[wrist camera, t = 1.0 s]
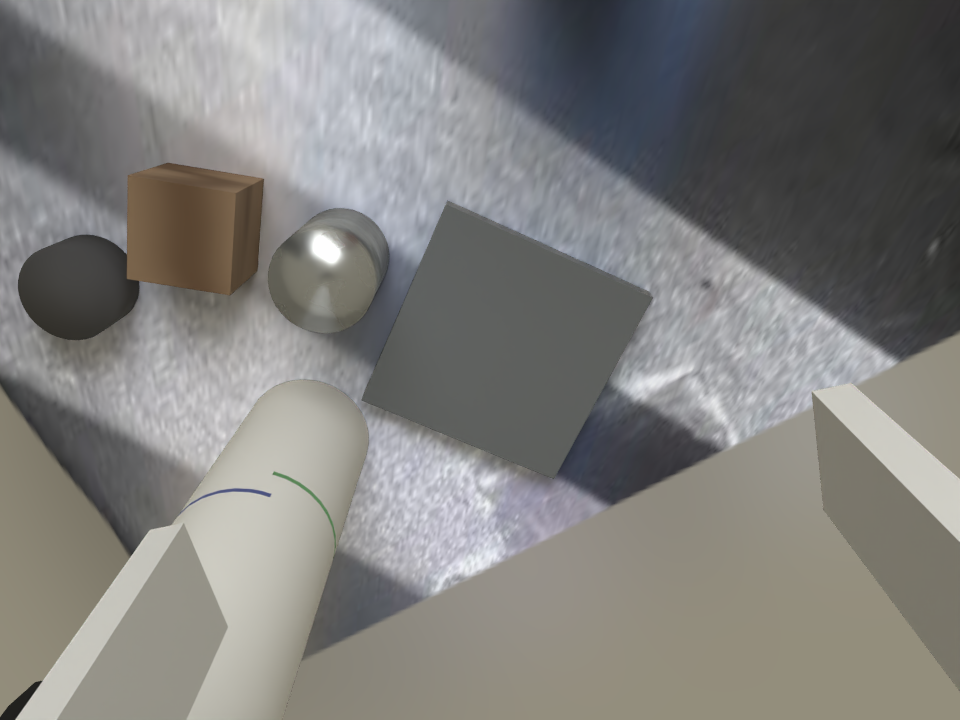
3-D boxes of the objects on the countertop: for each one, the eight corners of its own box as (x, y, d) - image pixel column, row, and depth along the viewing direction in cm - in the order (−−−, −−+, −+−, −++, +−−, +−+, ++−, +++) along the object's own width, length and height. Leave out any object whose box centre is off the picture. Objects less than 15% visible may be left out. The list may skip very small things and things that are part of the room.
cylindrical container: (249, 371, 46) (-5, 696, 22) (374, 388, 46) (253, 726, 22) (245, 481, 48) (12, 878, 25) (363, 496, 48) (244, 903, 25)
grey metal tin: (283, 276, 44) (253, 308, 38) (315, 192, 42) (288, 212, 36) (369, 313, 44) (351, 349, 39) (403, 231, 43) (390, 256, 37)
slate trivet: (364, 392, 46) (361, 400, 45) (447, 200, 42) (446, 204, 41) (552, 469, 48) (553, 479, 46) (648, 291, 44) (652, 297, 43)
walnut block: (165, 255, 43) (126, 278, 39) (168, 162, 42) (127, 175, 37) (257, 270, 44) (230, 295, 39) (264, 178, 42) (235, 193, 37)
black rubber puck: (38, 301, 44) (8, 317, 42) (60, 219, 43) (30, 230, 40) (126, 336, 45) (102, 354, 42) (150, 257, 44) (127, 270, 41)
